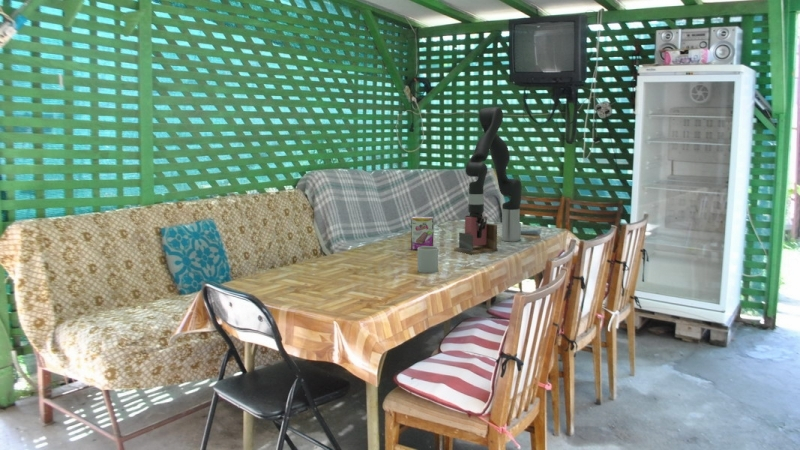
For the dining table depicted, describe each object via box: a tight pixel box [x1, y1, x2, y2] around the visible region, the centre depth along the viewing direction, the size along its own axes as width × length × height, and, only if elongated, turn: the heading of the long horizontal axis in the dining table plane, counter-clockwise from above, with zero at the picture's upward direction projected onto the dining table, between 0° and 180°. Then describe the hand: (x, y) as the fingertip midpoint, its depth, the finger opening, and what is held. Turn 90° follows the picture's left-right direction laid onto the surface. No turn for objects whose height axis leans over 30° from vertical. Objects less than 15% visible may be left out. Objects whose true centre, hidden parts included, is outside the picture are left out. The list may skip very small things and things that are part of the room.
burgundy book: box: [464, 215, 488, 246], centre depth 332 cm, size 10×4×14 cm, turn 123°
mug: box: [416, 246, 439, 274], centre depth 288 cm, size 11×10×10 cm
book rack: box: [453, 222, 498, 256], centre depth 332 cm, size 17×13×13 cm
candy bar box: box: [410, 216, 435, 251], centre depth 337 cm, size 11×5×16 cm, turn 84°
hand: (475, 237), depth 332 cm, fingers closed on burgundy book, 4 cm apart
